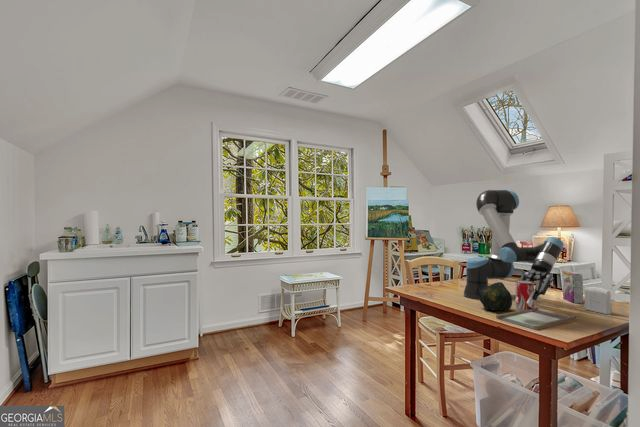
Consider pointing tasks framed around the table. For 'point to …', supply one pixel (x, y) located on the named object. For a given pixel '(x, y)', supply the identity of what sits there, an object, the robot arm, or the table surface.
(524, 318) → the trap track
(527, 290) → the soda can
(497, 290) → the squash
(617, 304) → the table surface
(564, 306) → the table surface
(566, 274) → the candy bar box
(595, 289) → the photo printer
